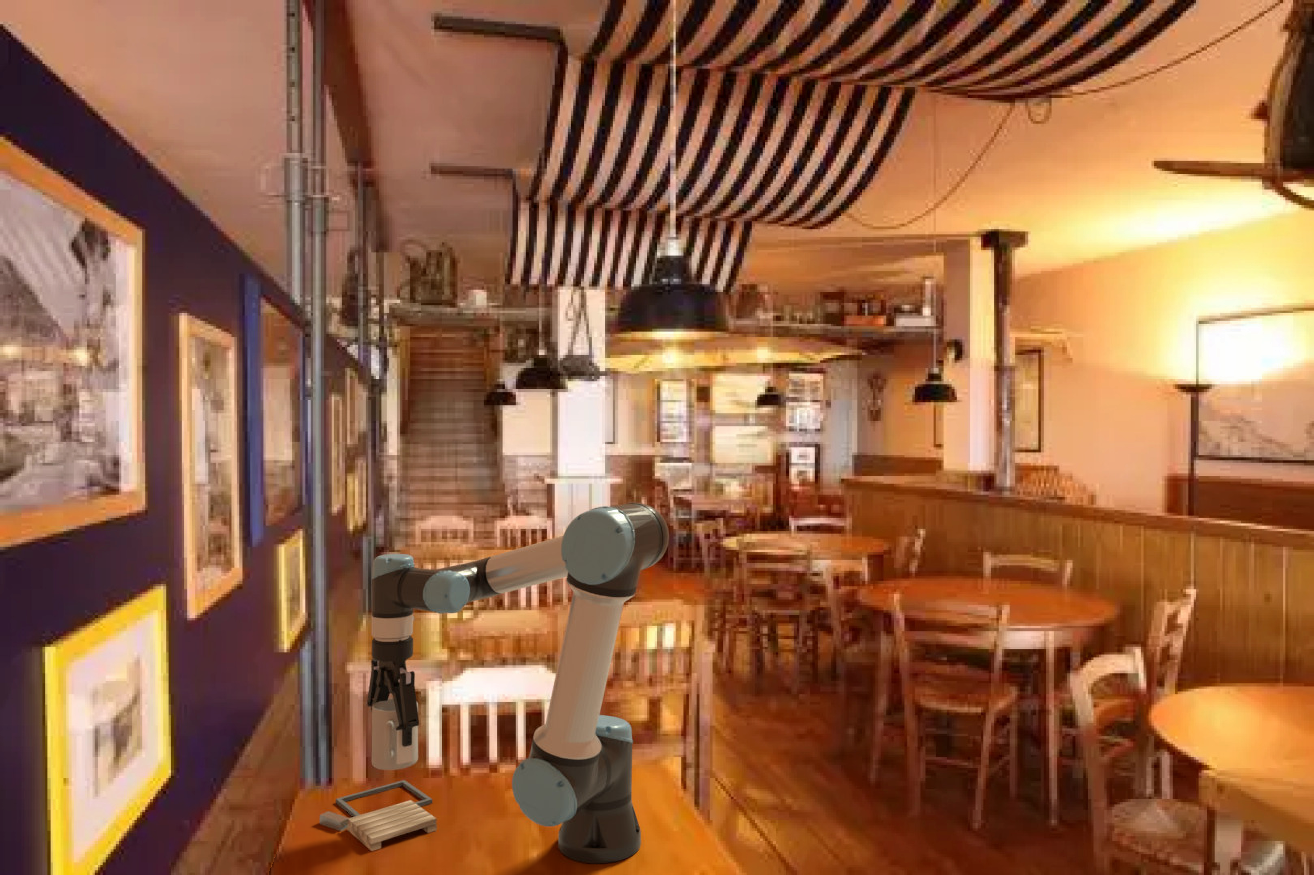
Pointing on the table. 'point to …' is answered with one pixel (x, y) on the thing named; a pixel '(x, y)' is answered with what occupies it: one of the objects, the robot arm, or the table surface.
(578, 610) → the robot arm
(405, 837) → the table surface
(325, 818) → the grey rectangular bar
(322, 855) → the table surface
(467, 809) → the table surface
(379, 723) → the mug
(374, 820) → the rack
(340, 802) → the socket frame
